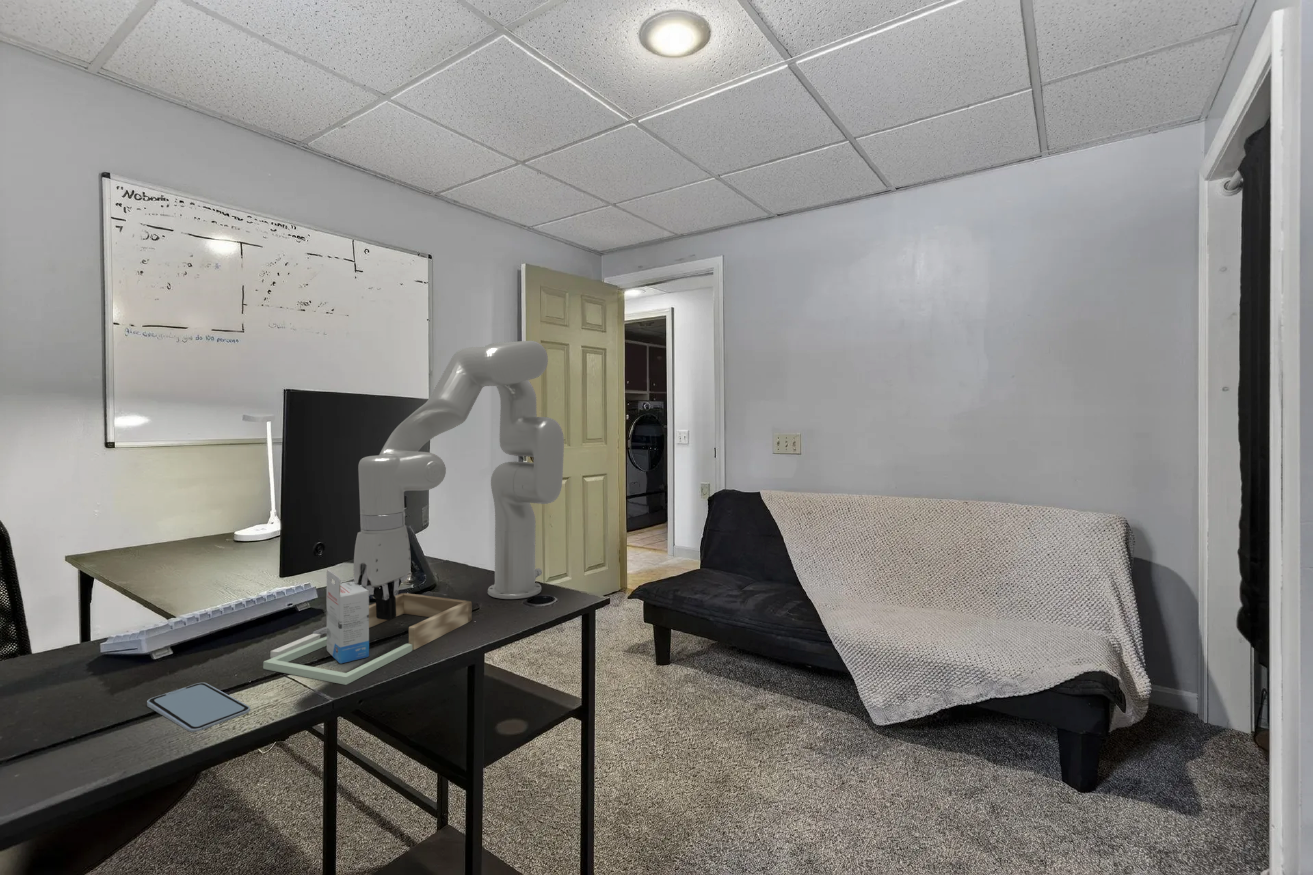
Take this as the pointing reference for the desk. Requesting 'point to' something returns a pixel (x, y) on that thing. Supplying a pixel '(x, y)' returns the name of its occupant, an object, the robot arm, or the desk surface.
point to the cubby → (440, 611)
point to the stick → (294, 645)
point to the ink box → (347, 619)
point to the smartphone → (197, 706)
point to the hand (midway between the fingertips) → (386, 617)
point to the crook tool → (321, 631)
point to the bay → (284, 666)
